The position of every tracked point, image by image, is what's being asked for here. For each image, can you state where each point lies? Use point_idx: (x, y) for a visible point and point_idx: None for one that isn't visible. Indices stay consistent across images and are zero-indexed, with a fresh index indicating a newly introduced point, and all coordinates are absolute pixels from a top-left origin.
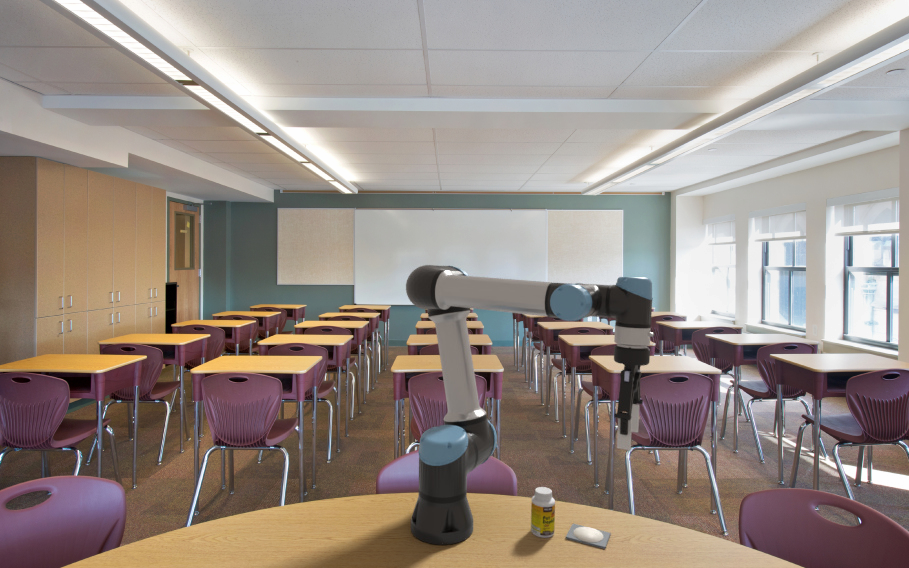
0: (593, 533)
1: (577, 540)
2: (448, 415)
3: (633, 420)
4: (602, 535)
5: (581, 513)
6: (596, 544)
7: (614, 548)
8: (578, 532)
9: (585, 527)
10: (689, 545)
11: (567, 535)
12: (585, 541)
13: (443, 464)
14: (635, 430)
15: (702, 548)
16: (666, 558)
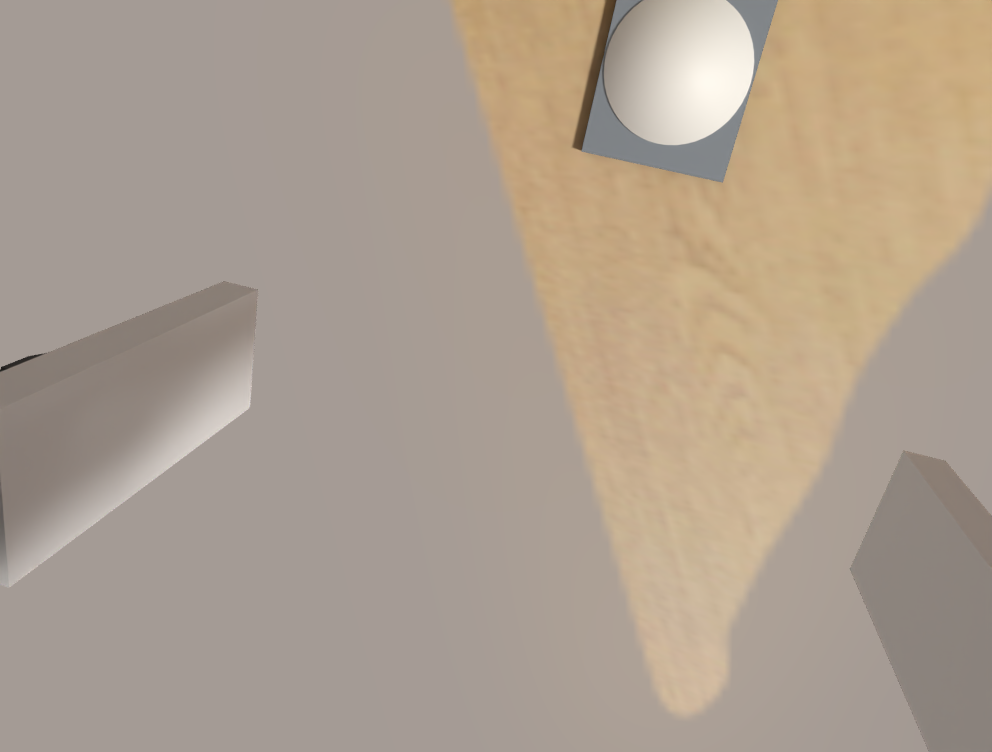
0: (691, 95)
1: (613, 14)
2: None
3: (915, 612)
4: (682, 141)
5: (947, 21)
6: (592, 110)
7: (601, 193)
8: (682, 15)
9: (746, 51)
10: (705, 497)
11: None
12: (606, 56)
13: None
14: (864, 558)
15: (693, 537)
16: (580, 391)
